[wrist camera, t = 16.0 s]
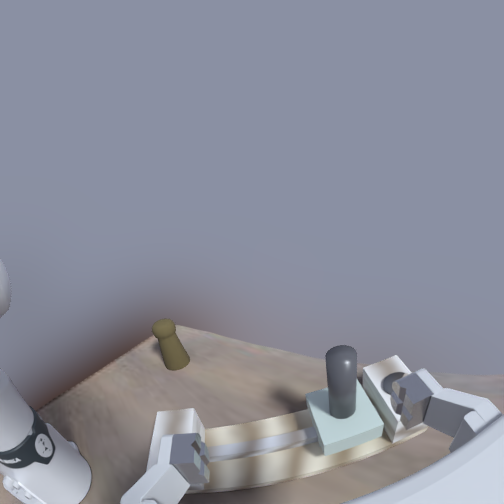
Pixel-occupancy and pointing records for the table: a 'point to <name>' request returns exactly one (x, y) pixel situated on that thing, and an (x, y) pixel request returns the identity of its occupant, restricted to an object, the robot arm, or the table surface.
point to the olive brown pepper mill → (170, 345)
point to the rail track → (280, 459)
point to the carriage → (343, 405)
